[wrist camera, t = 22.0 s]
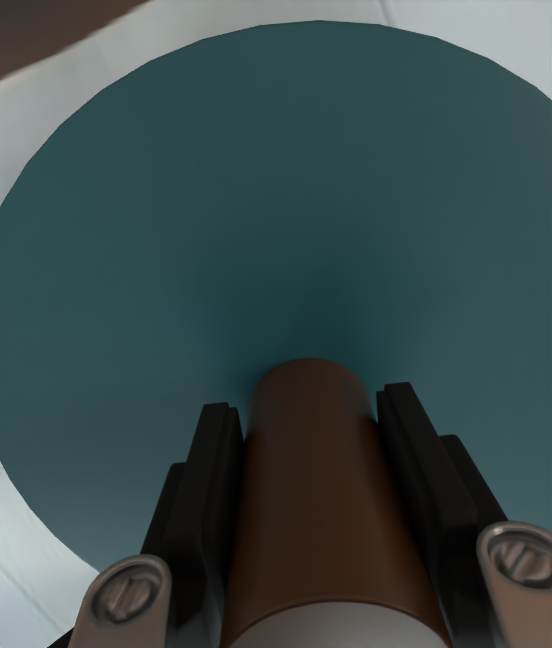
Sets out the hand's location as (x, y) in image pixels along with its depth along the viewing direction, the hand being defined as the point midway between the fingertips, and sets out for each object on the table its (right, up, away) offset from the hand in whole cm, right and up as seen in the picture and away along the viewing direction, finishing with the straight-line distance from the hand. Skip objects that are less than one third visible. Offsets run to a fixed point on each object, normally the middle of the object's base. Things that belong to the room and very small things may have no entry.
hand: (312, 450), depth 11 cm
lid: (0, +1, +2) cm, 2 cm away
